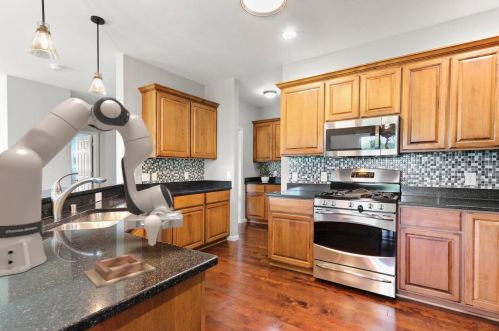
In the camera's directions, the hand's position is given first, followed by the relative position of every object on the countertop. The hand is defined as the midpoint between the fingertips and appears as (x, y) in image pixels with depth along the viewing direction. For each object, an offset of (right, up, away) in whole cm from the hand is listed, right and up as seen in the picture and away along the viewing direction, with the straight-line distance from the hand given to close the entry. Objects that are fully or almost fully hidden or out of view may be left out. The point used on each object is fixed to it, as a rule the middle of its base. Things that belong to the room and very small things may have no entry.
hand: (152, 226), depth 89 cm
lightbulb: (0, -7, 0) cm, 7 cm away
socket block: (-5, -11, -12) cm, 17 cm away
